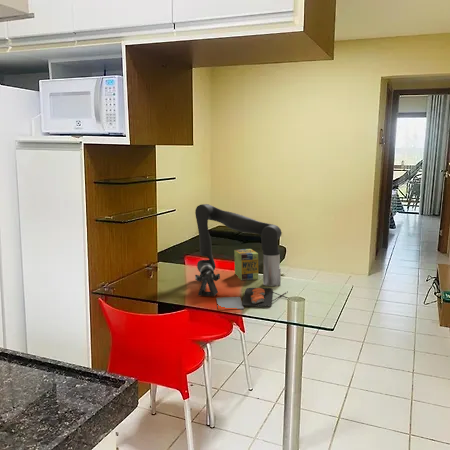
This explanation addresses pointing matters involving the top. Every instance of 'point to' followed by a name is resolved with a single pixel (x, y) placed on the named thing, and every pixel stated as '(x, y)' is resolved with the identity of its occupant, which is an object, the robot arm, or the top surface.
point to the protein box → (246, 264)
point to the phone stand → (212, 287)
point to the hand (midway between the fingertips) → (208, 281)
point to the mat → (230, 302)
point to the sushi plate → (259, 297)
